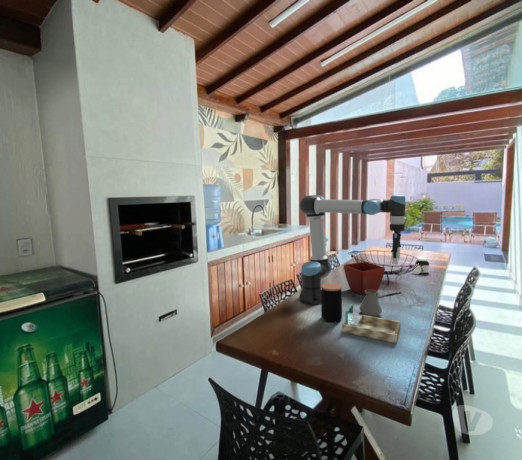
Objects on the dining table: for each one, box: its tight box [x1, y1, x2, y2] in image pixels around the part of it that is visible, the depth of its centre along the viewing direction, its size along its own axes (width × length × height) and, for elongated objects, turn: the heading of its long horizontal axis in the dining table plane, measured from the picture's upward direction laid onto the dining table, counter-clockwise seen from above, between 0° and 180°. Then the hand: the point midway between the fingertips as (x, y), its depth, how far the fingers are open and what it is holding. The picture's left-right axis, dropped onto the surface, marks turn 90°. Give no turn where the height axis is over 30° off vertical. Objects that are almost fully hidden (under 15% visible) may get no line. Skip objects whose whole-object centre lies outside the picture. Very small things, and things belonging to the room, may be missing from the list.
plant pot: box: [343, 261, 386, 296], centre depth 199 cm, size 19×19×17 cm
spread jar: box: [411, 257, 430, 275], centre depth 234 cm, size 12×11×12 cm
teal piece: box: [343, 303, 362, 327], centre depth 148 cm, size 6×13×9 cm, turn 150°
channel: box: [341, 312, 401, 344], centre depth 144 cm, size 24×15×4 cm, turn 60°
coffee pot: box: [359, 290, 403, 317], centre depth 159 cm, size 21×12×15 cm, turn 55°
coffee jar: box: [320, 282, 343, 323], centre depth 158 cm, size 11×11×18 cm
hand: (395, 261), depth 168 cm, fingers open, 13 cm apart
